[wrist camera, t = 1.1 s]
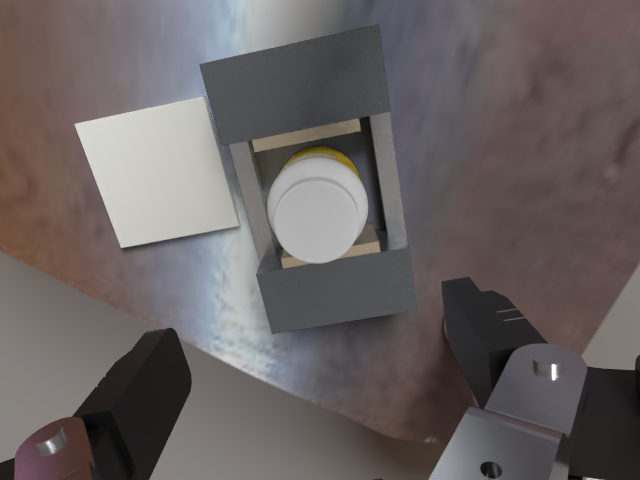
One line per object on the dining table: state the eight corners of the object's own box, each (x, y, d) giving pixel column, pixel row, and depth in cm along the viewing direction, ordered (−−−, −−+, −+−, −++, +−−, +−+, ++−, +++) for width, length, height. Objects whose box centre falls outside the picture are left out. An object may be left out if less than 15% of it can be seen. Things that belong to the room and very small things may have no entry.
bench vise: (214, 70, 30) (193, 65, 25) (375, 34, 29) (385, 23, 24) (274, 303, 36) (267, 334, 32) (410, 280, 35) (423, 309, 31)
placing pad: (78, 123, 32) (74, 124, 31) (205, 96, 31) (203, 96, 30) (124, 245, 35) (121, 248, 34) (240, 223, 34) (238, 226, 33)
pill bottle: (361, 218, 34) (376, 273, 23) (285, 224, 34) (266, 281, 24) (357, 139, 32) (371, 162, 21) (276, 146, 32) (251, 172, 21)
